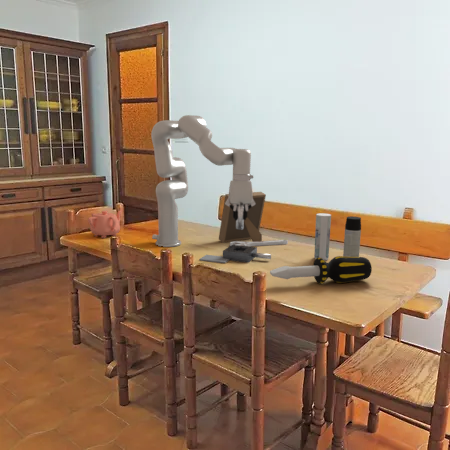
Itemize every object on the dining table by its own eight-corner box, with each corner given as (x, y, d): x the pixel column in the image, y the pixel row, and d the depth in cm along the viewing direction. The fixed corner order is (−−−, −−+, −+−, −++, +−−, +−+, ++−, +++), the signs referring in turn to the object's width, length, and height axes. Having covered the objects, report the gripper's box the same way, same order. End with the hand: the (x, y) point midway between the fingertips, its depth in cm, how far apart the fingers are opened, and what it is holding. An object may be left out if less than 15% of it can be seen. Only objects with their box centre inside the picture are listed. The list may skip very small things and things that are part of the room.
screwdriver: (275, 291, 166) (276, 264, 164) (266, 282, 176) (267, 256, 174) (374, 284, 175) (376, 258, 173) (360, 276, 185) (362, 251, 182)
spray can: (359, 261, 205) (362, 216, 201) (358, 265, 199) (361, 219, 195) (343, 260, 207) (346, 215, 203) (342, 264, 201) (344, 218, 197)
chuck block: (222, 259, 206) (222, 250, 205) (231, 253, 217) (232, 244, 216) (266, 264, 199) (266, 255, 198) (273, 257, 210) (274, 249, 209)
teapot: (92, 232, 257) (91, 208, 254) (123, 232, 259) (123, 208, 256) (87, 239, 241) (86, 213, 239) (121, 238, 243) (120, 213, 241)
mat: (199, 260, 204) (199, 259, 204) (206, 255, 212) (206, 254, 212) (225, 263, 200) (225, 262, 200) (231, 258, 208) (231, 257, 208)
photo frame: (218, 241, 240) (219, 192, 235) (253, 236, 252) (254, 190, 246) (234, 247, 228) (235, 196, 223) (269, 242, 239) (271, 194, 234)
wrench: (290, 241, 233) (233, 245, 224) (290, 245, 233) (233, 249, 224) (284, 238, 240) (228, 241, 232) (284, 241, 241) (228, 245, 232)
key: (234, 227, 210) (235, 200, 207) (242, 227, 210) (242, 200, 208) (237, 230, 204) (237, 202, 201) (244, 230, 204) (245, 202, 202)
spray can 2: (313, 256, 213) (315, 213, 209) (327, 256, 213) (329, 213, 209) (314, 260, 207) (317, 215, 203) (329, 260, 206) (332, 216, 202)
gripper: (257, 177, 207) (256, 217, 211) (221, 176, 205) (220, 218, 208) (261, 179, 200) (260, 221, 204) (223, 178, 197) (222, 221, 201)
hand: (239, 219), depth 206 cm, fingers closed on key, 3 cm apart
